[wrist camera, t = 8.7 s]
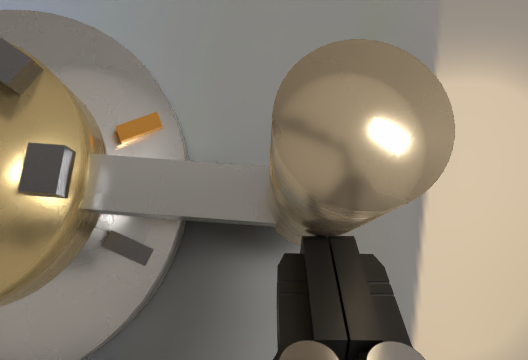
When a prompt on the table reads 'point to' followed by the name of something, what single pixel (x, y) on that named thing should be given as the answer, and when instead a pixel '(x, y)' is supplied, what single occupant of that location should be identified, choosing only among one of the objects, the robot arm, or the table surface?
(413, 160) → the crank handle
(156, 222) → the plate
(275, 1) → the table surface
